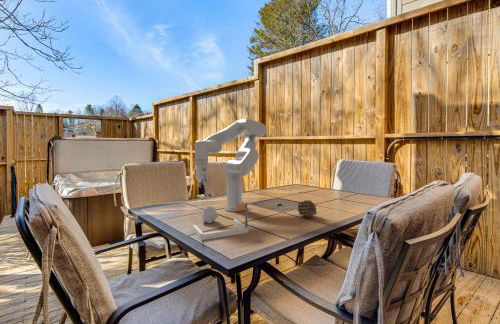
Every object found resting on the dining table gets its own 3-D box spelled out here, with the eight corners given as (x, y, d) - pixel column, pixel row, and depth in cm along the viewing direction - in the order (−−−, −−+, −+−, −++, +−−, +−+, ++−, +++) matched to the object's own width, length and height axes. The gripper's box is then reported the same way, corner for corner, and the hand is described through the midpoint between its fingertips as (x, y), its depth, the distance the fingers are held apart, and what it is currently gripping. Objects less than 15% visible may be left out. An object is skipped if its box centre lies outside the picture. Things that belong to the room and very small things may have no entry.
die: (221, 223, 152) (217, 206, 157) (214, 218, 144) (211, 201, 149) (206, 228, 153) (203, 211, 158) (199, 224, 145) (196, 206, 150)
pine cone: (322, 219, 155) (322, 201, 155) (308, 221, 151) (308, 203, 150) (298, 210, 175) (298, 194, 174) (285, 212, 171) (285, 196, 170)
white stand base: (235, 224, 147) (235, 197, 146) (248, 232, 133) (248, 203, 132) (192, 230, 137) (191, 202, 136) (201, 240, 123) (200, 208, 122)
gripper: (211, 162, 154) (211, 195, 155) (204, 161, 168) (204, 191, 169) (198, 163, 151) (198, 196, 152) (191, 161, 165) (191, 192, 166)
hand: (201, 194), depth 161 cm, fingers closed
